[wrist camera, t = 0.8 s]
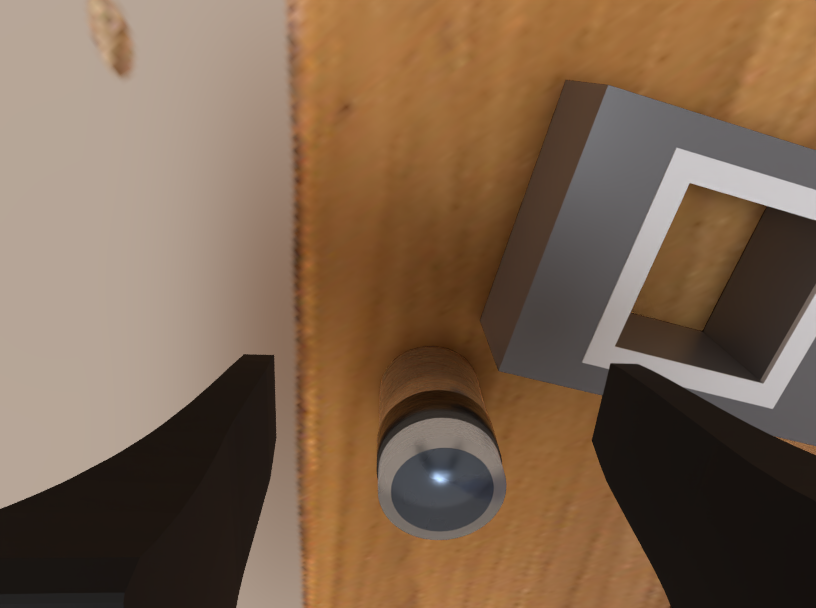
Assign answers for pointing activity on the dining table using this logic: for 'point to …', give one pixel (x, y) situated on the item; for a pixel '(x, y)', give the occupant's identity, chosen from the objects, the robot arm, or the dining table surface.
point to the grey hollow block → (636, 251)
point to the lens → (436, 447)
